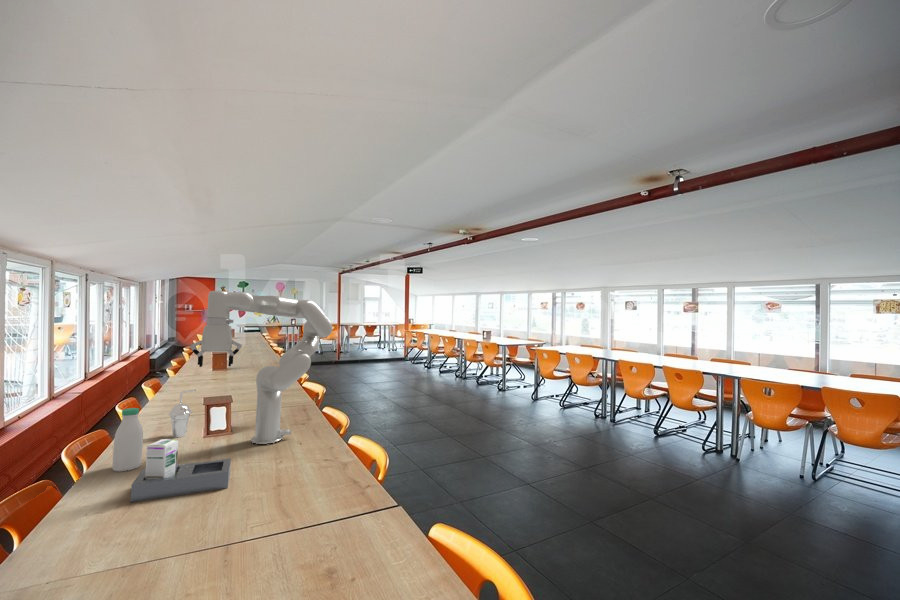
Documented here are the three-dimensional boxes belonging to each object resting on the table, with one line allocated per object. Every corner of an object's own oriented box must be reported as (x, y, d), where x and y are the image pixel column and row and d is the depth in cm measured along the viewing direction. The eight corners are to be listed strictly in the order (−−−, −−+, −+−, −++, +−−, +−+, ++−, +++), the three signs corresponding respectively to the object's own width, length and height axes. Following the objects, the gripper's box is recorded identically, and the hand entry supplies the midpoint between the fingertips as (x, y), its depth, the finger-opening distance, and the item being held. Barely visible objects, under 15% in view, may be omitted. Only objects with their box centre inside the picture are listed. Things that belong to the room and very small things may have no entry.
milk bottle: (143, 467, 132) (147, 409, 133) (113, 474, 126) (117, 413, 127) (139, 461, 137) (142, 405, 138) (110, 467, 132) (114, 408, 132)
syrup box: (163, 494, 114) (166, 445, 114) (143, 493, 114) (146, 444, 114) (176, 486, 120) (179, 439, 120) (157, 485, 120) (160, 438, 120)
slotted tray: (230, 473, 130) (231, 458, 130) (227, 488, 119) (228, 471, 120) (141, 485, 119) (142, 468, 120) (130, 502, 109) (131, 484, 109)
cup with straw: (178, 432, 171) (181, 387, 171) (196, 433, 169) (199, 388, 170) (161, 438, 162) (164, 390, 163) (180, 439, 161) (183, 392, 162)
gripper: (243, 322, 157) (241, 364, 157) (193, 321, 150) (190, 365, 149) (242, 323, 151) (240, 366, 150) (190, 322, 143) (187, 368, 142)
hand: (215, 366), depth 149 cm, fingers open, 9 cm apart
